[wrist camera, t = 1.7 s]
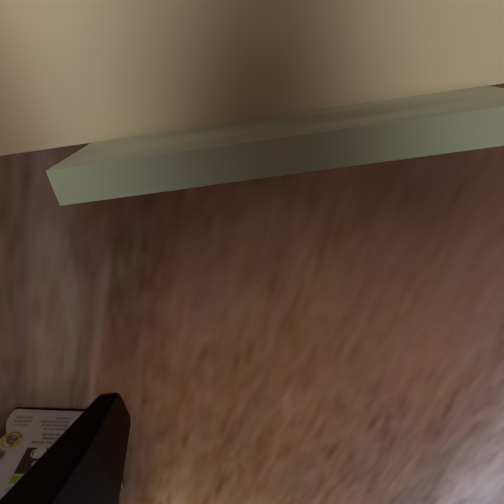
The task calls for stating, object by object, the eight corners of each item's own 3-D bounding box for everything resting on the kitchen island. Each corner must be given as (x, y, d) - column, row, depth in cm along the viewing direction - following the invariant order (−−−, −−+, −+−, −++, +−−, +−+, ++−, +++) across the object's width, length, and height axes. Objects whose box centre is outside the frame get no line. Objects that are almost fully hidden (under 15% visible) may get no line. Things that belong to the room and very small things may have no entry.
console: (466, -123, 12) (1145, -647, 3) (444, 72, 14) (758, 111, 6) (40, -49, 12) (-460, -288, 4) (97, 123, 15) (-109, 229, 6)
